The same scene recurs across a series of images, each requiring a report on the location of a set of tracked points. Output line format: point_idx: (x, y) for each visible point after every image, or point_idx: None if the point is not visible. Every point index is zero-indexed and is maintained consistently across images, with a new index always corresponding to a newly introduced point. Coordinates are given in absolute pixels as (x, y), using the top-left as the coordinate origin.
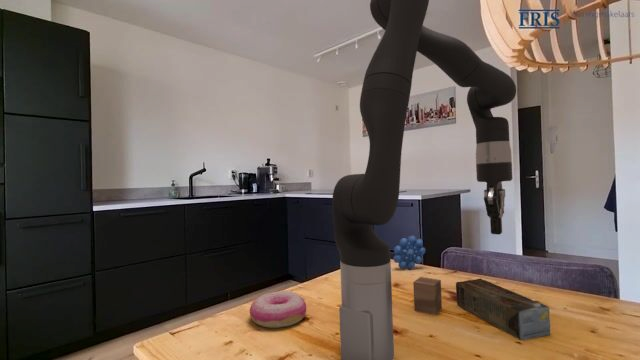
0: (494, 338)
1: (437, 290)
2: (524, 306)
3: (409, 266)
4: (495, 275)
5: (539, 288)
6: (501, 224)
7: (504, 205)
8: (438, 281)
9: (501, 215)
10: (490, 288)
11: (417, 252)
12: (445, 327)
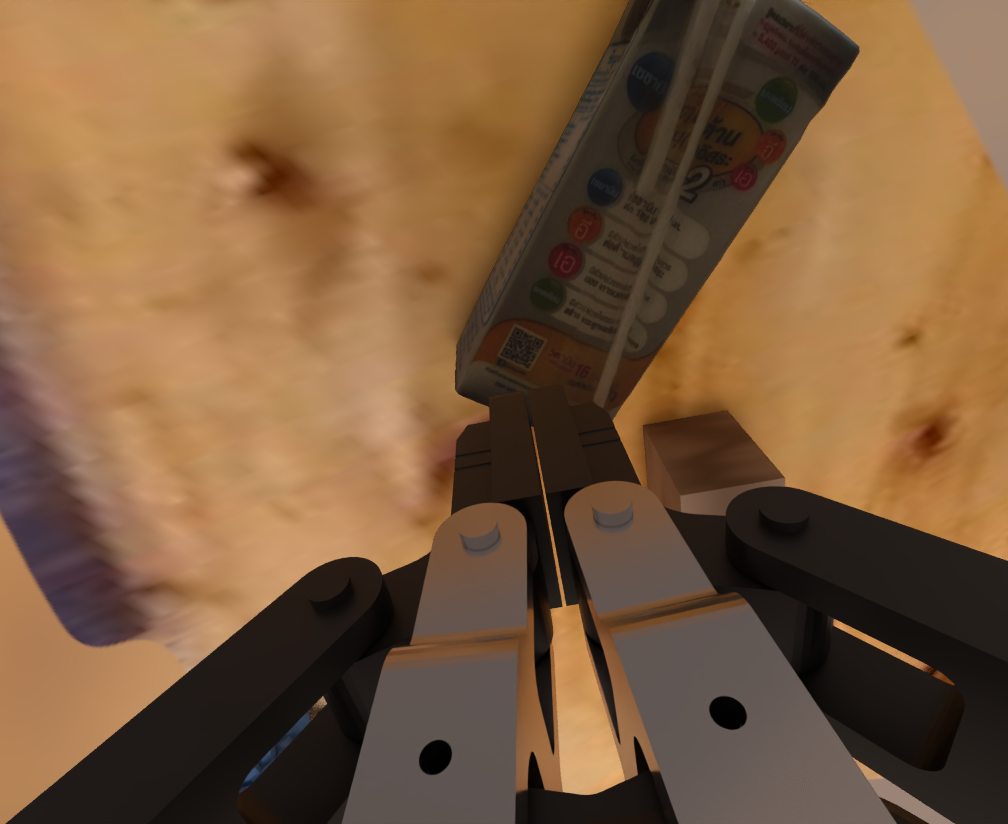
0: (820, 156)
1: (722, 465)
2: (778, 45)
3: (307, 714)
4: (23, 446)
5: (11, 204)
6: (524, 443)
7: (382, 684)
8: (712, 491)
9: (624, 507)
10: (598, 290)
11: None
12: (816, 335)
